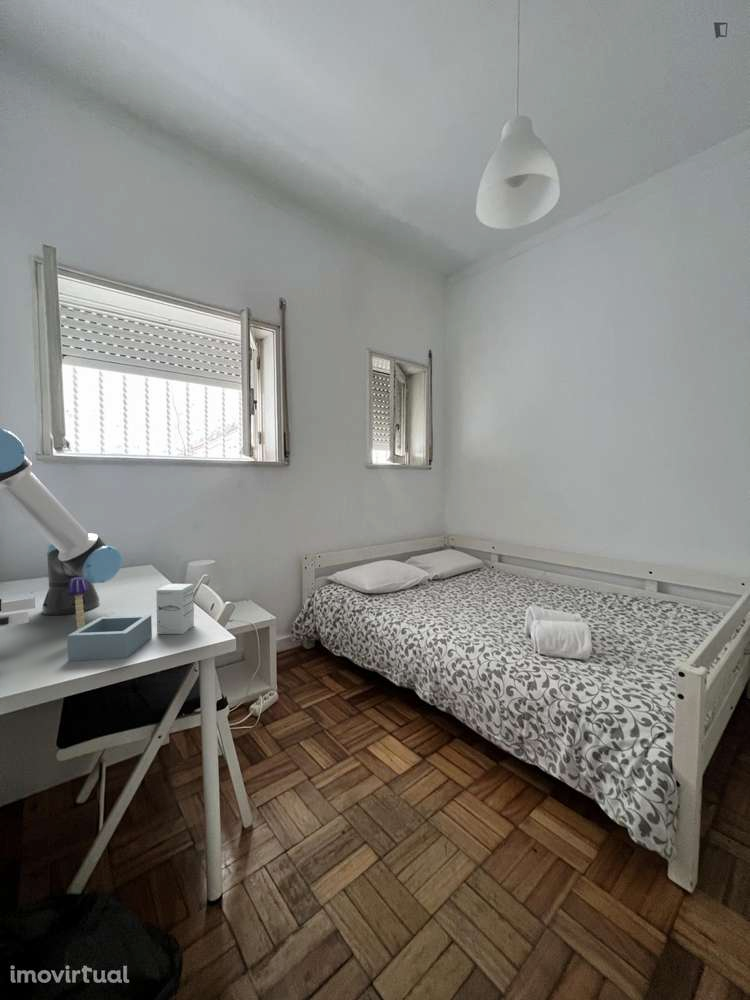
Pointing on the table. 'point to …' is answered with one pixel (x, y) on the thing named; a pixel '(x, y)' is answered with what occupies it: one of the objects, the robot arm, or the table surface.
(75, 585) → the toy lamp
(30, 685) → the table surface
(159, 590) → the supplement box
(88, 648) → the blue-gray open box
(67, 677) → the table surface
